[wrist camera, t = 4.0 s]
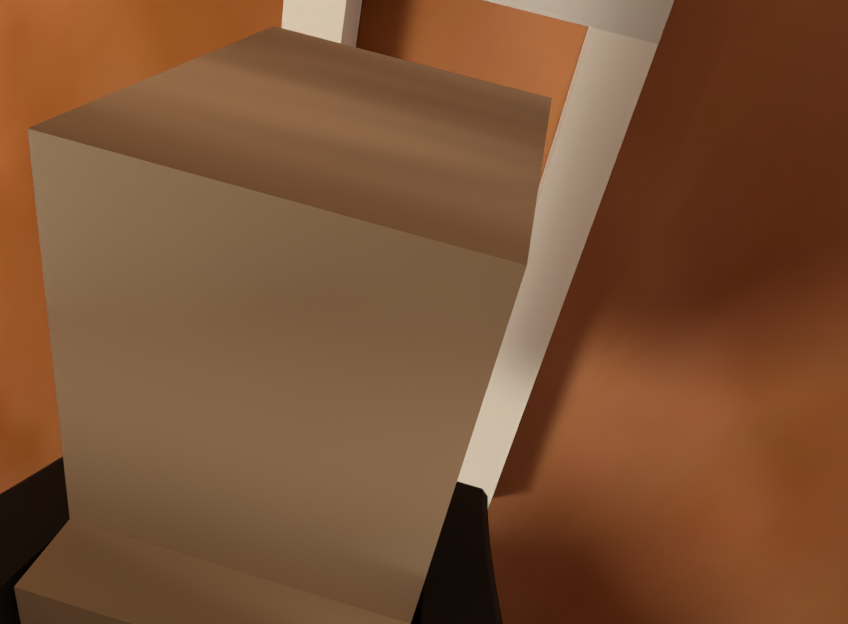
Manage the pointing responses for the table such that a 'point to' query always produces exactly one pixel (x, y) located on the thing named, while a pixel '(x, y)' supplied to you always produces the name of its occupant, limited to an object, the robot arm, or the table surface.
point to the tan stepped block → (273, 328)
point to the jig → (543, 187)
